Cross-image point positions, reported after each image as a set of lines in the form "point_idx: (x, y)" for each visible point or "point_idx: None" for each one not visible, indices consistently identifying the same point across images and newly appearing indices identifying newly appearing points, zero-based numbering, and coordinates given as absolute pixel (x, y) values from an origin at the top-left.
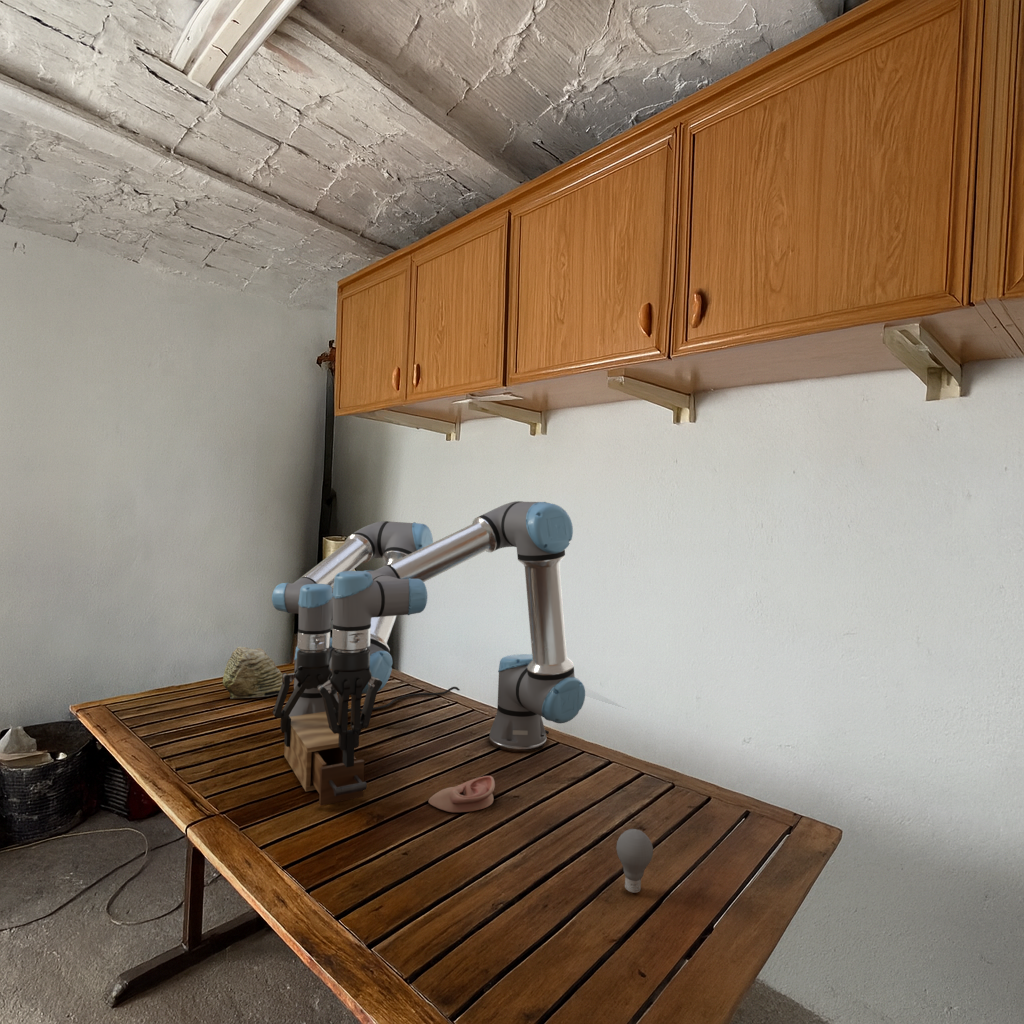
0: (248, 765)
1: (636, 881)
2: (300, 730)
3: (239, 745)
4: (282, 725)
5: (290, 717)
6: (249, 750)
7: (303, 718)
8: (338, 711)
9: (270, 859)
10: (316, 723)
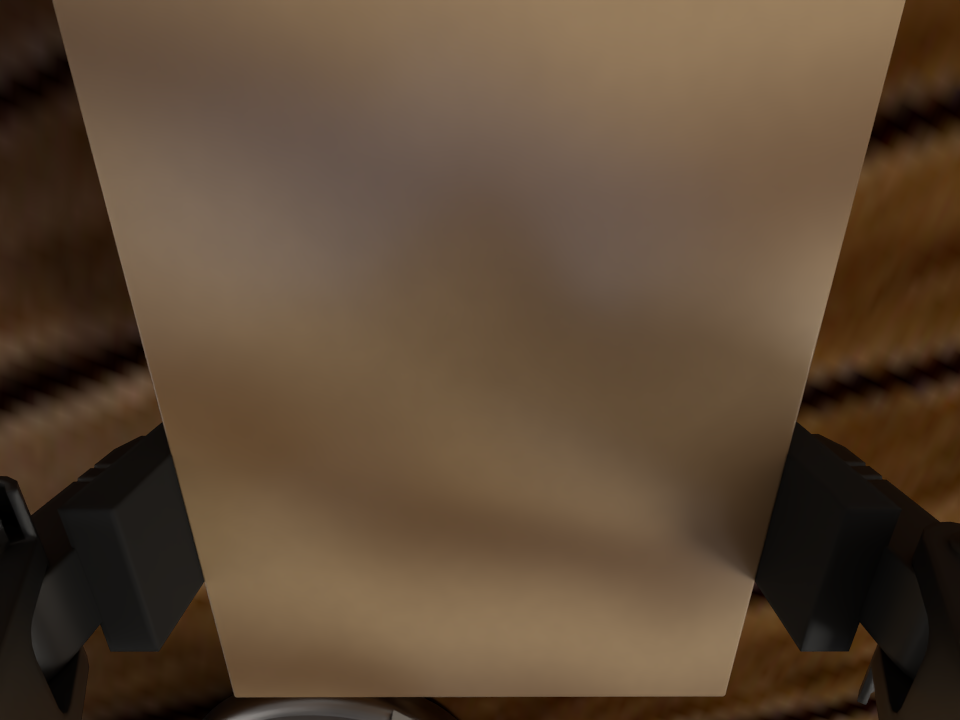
0: (848, 401)
1: None
2: (779, 151)
3: (772, 660)
4: (880, 484)
5: (680, 673)
6: (754, 589)
7: (554, 598)
8: (11, 514)
9: None
10: (445, 363)
